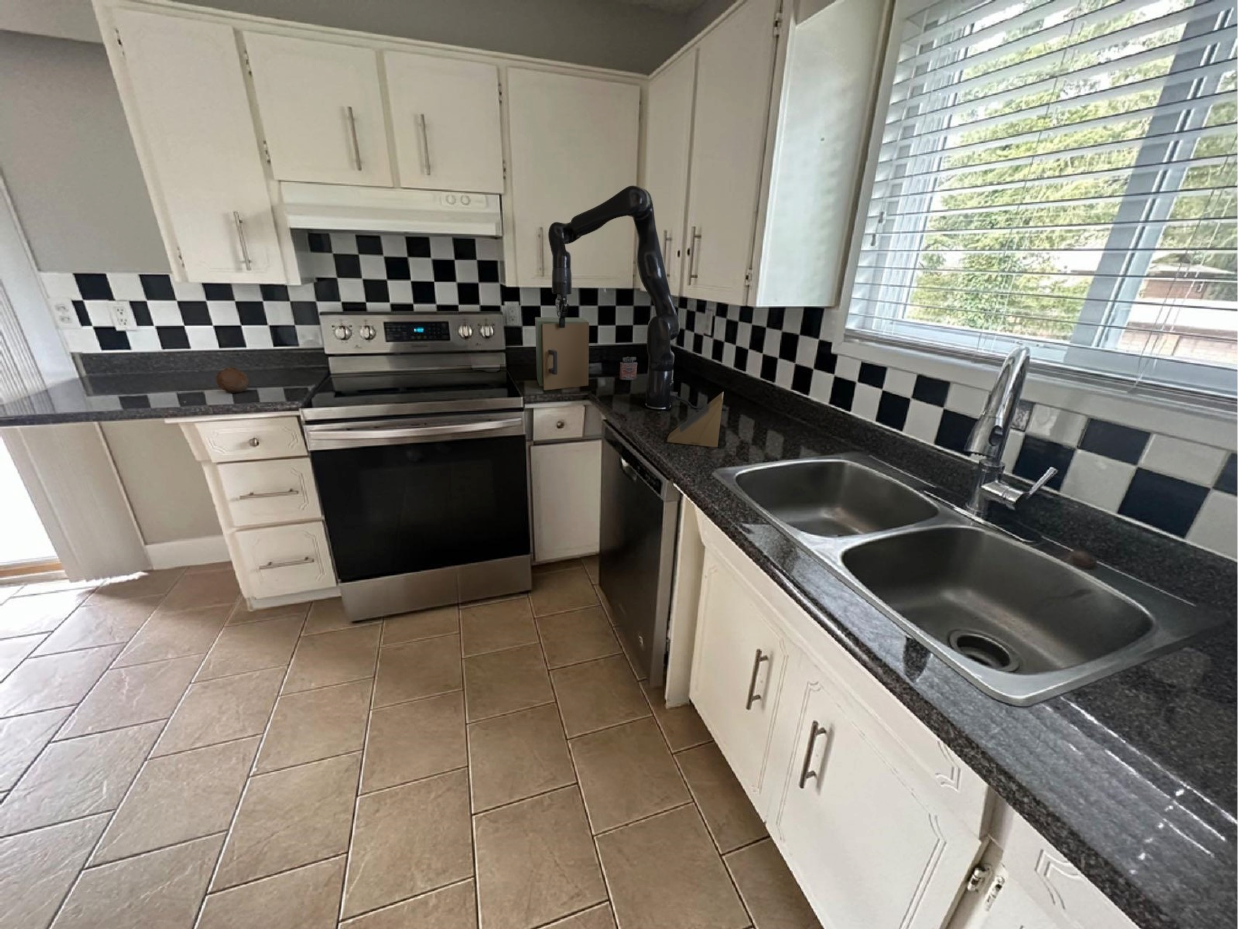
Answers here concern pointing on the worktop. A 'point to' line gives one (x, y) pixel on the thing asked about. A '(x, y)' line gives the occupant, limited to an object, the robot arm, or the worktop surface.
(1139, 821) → the worktop surface
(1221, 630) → the worktop surface
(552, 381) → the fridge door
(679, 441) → the sandwich container
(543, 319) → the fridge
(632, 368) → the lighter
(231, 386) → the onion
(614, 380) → the worktop surface
